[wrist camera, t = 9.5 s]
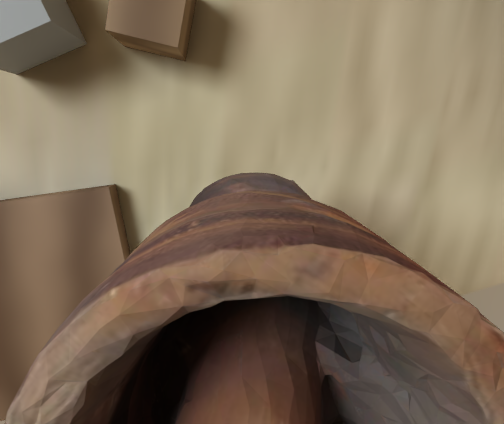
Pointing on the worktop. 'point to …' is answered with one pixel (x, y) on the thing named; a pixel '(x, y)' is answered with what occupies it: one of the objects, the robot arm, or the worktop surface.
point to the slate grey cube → (35, 33)
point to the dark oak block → (152, 25)
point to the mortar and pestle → (267, 327)
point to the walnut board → (51, 269)
